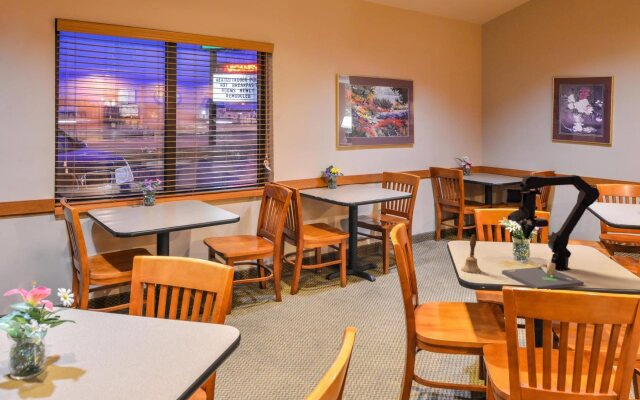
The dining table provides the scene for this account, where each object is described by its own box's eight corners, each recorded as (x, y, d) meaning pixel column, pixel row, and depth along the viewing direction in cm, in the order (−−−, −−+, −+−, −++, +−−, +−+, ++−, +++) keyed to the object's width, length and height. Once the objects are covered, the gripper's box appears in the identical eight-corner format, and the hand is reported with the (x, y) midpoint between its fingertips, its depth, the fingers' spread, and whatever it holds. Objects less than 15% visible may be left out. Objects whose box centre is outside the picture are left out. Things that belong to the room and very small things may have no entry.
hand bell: (477, 267, 227) (479, 232, 224) (483, 273, 219) (485, 237, 216) (458, 267, 227) (460, 232, 224) (464, 273, 218) (466, 236, 216)
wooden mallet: (536, 266, 223) (537, 254, 222) (545, 266, 223) (546, 254, 222) (547, 277, 207) (548, 265, 206) (556, 278, 207) (557, 265, 206)
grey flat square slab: (544, 269, 224) (544, 266, 224) (583, 285, 204) (583, 281, 203) (501, 273, 218) (502, 270, 218) (537, 290, 197) (537, 286, 197)
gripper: (499, 201, 229) (497, 235, 232) (530, 208, 212) (527, 245, 215) (518, 200, 233) (516, 233, 236) (550, 207, 216) (547, 243, 219)
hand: (526, 238), depth 226 cm, fingers closed
